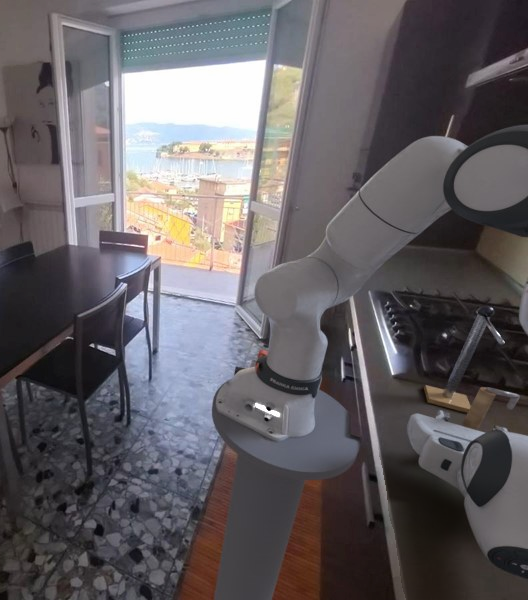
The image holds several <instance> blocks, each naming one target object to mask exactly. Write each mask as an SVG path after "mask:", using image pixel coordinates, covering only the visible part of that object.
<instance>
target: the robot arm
mask: <svg viewBox="0 0 528 600" xmlns="http://www.w3.org/2000/svg"><path fill="white" fill-rule="evenodd" d="M450 211H453V212H455V213H456V214H457V215H458V216H460V217H462V218H464V219H465V220H469V221H470V222H473V223H476V224H479V225H482V226H484V227H489V228H493V229H496V230H498V231H502V232H505V233H509V234H511V235H515V236H518V237H520V238H528V124H520V125H512V126H509V127H505V128H502V129H499V130H496V131H494V132H491V133H488V134H486V135H485V136H482V137H481V138H478V139H477V140H475V141H474V142H472V143H471V144H469V145H466V144H465V143H463V142H461V141H460V140H457V139H455V138H452V137H448V136H443V135H429V136H424V137H422V138H421V137H420V138H419V139H416V140H415V141H413V142H412V143H410V144H409V145H407V146H406V147H405V148H404V149H402V150H401V151H400V152H399V153H397V154H396V155H395V156H393V157H392V158H391V159H390V160H389V161H388V162H387V163H385V164H384V165H383V166H382V167H381V168H380V169H378V171H377V172H376V173H374V174H373V175H372V176H371V177H370V178H369V179H368V180H367V181H366V182H365V183H364V184H363V185H362V187H360V189H359V190H357V192H356V193H355V194H354V195H353V196H352V197H351V198H350V199H349V201H348V202H347V203H346V204H344V206H343V207H342V208H341V209H340V210H339V211H338V212H337V214H336V215H335V216H333V218H332V219H331V220H330V221H329V222H328V223H327V225H326V228H325V237H324V238H323V240H322V242H321V244H320V245H319V246H318V248H317V249H316V250H314V251H313V252H312V253H310V254H309V255H306V256H305V257H302V258H299V259H296V260H292V261H288V262H283V263H280V264H278V265H276V266H274V267H273V268H271V269H269V270H267V271H266V272H264V273H263V274H262V275H260V276H259V278H257V280H256V282H255V285H254V290H253V291H254V292H253V296H254V300H255V303H256V305H257V307H258V309H259V311H260V312H261V313H262V314H263V315H264V316H265V317H266V318H268V321H269V326H270V327H269V328H270V336H269V342H268V348H267V350H266V349H263V348H262V349H260V350H259V351H258V353H257V360H256V362H255V366H252V367H247V368H245V367H241V366H235V368H234V375H233V377H232V378H231V380H230V379H229V380H230V381H228V380H227V381H228V382H227V381H225V382H226V383H225V382H224V383H225V384H224V383H223V384H224V385H223V386H222V387H221V389H220V390H219V392H218V395H217V398H216V409H217V411H218V412H219V413H221V414H223V415H225V416H226V417H228V418H230V419H232V420H234V421H236V422H238V423H240V424H242V425H244V426H246V427H248V428H250V429H252V430H254V431H256V432H258V433H260V434H262V435H264V436H265V437H267V438H269V439H271V440H273V441H276V442H279V441H283V440H285V439H287V438H291V437H301V436H305V435H307V434H309V433H311V432H312V431H313V429H314V427H315V417H314V404H315V397H316V395H317V393H318V391H319V390H320V387H321V384H322V380H323V371H322V368H323V365H324V360H325V356H326V352H327V350H328V349H327V348H328V345H329V342H328V337H327V336H326V334H325V332H323V331H322V330H321V319H322V316H323V314H324V312H325V311H326V310H327V309H330V308H333V307H335V306H338V305H341V304H342V303H345V302H346V301H348V300H349V299H351V298H352V297H354V296H355V295H356V294H357V293H358V292H360V290H361V289H362V288H363V286H364V285H365V284H366V283H367V282H368V280H369V279H371V277H372V276H373V275H374V274H375V272H376V271H377V270H379V268H380V267H381V266H382V265H384V264H385V263H386V262H387V261H388V260H389V259H391V258H392V257H393V256H395V255H396V254H397V253H398V252H399V251H401V250H402V249H403V248H404V247H406V246H407V245H408V244H409V243H410V242H411V241H412V240H414V239H415V238H416V237H418V236H419V235H421V234H422V233H423V232H424V231H425V230H426V229H427V228H428V227H430V226H431V225H432V224H433V223H434V222H436V221H437V220H438V219H439V218H440V217H442V216H444V215H445V214H446V213H448V212H450ZM518 308H519V309H518V321H519V324H520V326H521V328H522V329H523V331H524V333H525V334H526V336H528V277H527V279H526V281H525V284H524V287H523V291H522V294H521V297H520V301H519V307H518ZM450 419H451V414H450V412H448V411H444V410H441V409H439V410H437V413H436V416H435V417H432V416H428V415H425V414H421V413H418V412H415V413H413V414H411V415H410V417H409V419H408V420H407V421H408V422H407V424H406V433H407V436H408V440H409V443H410V445H411V448H412V449H413V450H414V451H415V453H416V454H418V456H419V457H418V465H419V467H420V468H421V469H423V470H425V471H427V472H428V473H430V474H432V475H434V476H436V477H438V478H439V479H441V480H443V481H445V482H446V483H448V484H449V485H451V486H452V487H454V488H455V489H457V490H459V492H460V494H461V495H462V496H463V498H464V500H463V501H464V502H463V506H464V510H465V514H466V517H467V520H468V524H469V527H470V529H471V532H472V535H473V537H474V539H475V540H476V543H477V545H478V547H479V548H480V550H481V552H482V553H483V555H484V557H485V558H486V559H487V560H488V561H489V562H490V563H491V564H492V565H493V566H495V567H496V568H498V569H500V570H502V571H503V572H506V573H508V574H511V575H514V576H517V577H519V578H522V579H525V580H528V435H527V434H522V433H517V432H512V431H508V428H506V427H503V426H499V425H494V426H493V428H492V430H490V431H487V432H485V431H482V430H479V429H478V430H474V429H471V428H467V427H464V426H461V424H457V423H453V422H449V421H450Z"/></svg>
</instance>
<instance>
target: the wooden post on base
mask: <svg viewBox="0 0 528 600" xmlns="http://www.w3.org/2000/svg"><path fill="white" fill-rule="evenodd" d="M478 389H479V390H478V392H477V393H476V395H475V398H474V399H473V401H472V403H471V404H470V406H471V407H470V409H469V411H468V413H466V415H465V417H464V420H463V421H462V423H461V424H460V426H464V427H467V428H471V429H474V430H478V431H479V428H480V426H481V424H482V422H483V420H484V418H485V417H486V415H487V413H488V412H489V409H490V407H491V405H492V403H493V401H494V400H495V398H496V396H497V395H498V396H502V397H505V398H510V399H509V400H508V402H507V404H506V406H505V407H506V409H507V410H514V409H515V406H516V405H517V403H518V402H519V400H520V397H521V396H520V395H519V394H517V393H514V392H510V391H505V390H502V389H498V388H493V387H488V386H487V387H485V386H481V387H480V388H478Z"/></svg>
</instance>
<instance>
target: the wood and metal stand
mask: <svg viewBox="0 0 528 600" xmlns="http://www.w3.org/2000/svg"><path fill="white" fill-rule="evenodd" d="M494 315H495V309H494V308H493V307H492V306H489V305H482V306H480V307H479V308H478V309H477V315H476V318H475V320H474V322H473V324H472V327H471V329H470V331H469V333H468V336H467V337H466V340H465V342H464V344H463V346H462V349H461V351H460V353H459V355H458V358H457V360H456V362H455V365H454V367H453V369H452V370H451V373H450V375H449V377H448V380H447V381H446V384H445V387H444V389H443V388H439V387H434V386H431V385H427V384H425V386H424V387H423V390H424V394H425V399H426V402H427V403H428V404H432V405H436V406H440V407H443V408H447V409H451V410H454V411H459V412H462V413H466V414H467V413H468V411H469V409H470V407H471V403H470V401H469V399H468V395H466V394H463V393H458V392H456V391H457V390H458V387H459V385H460V383H461V381H462V379H463V377H464V375H465V372H466V370H467V368H468V366H469V364H470V362H471V361H472V360H471V359H472V357H473V355H474V353H475V352H476V349H477V346H478V345H479V343H480V341H481V338H482V336H483V334H484V332H485V330H486V327H487V328H488V329H489V331H490V332H491V334H492V336H493V337H494V339H495V340H496V342H497V343H498V344H499V345H501V346H503V345H505V341H504V339H503V338H502V337H501V335H500V333H499V332H498V330H496V328H495V326H494V325H493V324H492V322H491V320H490V319H491V317H493V316H494Z"/></svg>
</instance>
